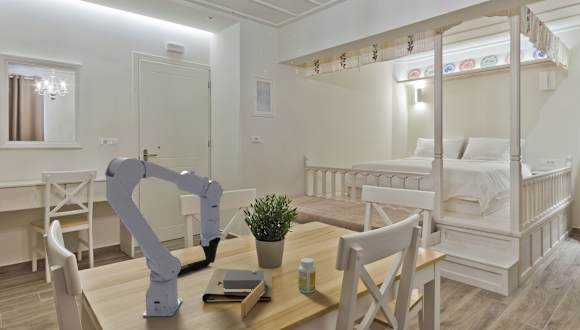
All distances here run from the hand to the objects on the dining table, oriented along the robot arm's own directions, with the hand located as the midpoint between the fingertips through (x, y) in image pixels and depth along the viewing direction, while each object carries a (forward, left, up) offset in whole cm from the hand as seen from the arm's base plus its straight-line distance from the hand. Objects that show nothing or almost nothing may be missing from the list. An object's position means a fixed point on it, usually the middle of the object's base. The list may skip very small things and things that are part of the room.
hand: (210, 262), depth 106 cm
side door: (-9, -14, -9) cm, 19 cm away
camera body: (+3, -10, -9) cm, 14 cm away
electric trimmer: (+18, +11, -10) cm, 23 cm away
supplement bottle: (+1, -30, -10) cm, 32 cm away
